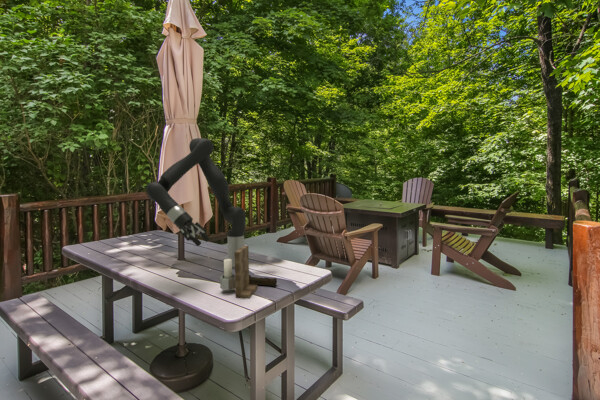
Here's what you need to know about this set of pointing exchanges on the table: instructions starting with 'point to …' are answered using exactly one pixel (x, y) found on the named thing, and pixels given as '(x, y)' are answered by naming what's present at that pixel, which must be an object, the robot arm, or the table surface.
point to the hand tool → (262, 281)
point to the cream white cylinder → (227, 268)
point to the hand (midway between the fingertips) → (204, 242)
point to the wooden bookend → (243, 274)
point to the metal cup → (227, 283)
